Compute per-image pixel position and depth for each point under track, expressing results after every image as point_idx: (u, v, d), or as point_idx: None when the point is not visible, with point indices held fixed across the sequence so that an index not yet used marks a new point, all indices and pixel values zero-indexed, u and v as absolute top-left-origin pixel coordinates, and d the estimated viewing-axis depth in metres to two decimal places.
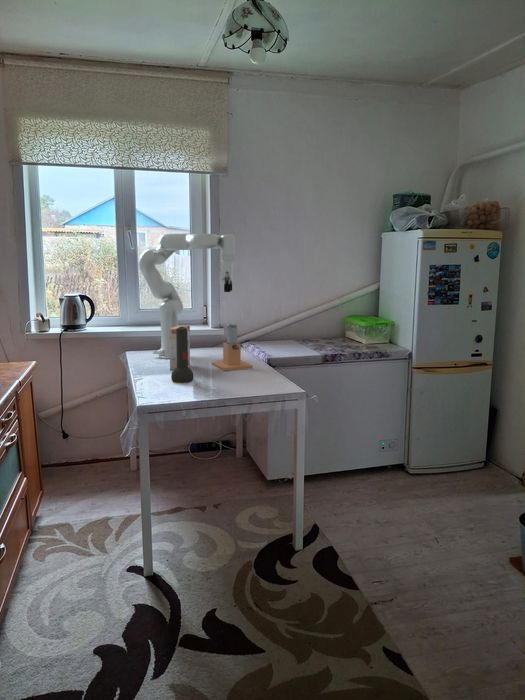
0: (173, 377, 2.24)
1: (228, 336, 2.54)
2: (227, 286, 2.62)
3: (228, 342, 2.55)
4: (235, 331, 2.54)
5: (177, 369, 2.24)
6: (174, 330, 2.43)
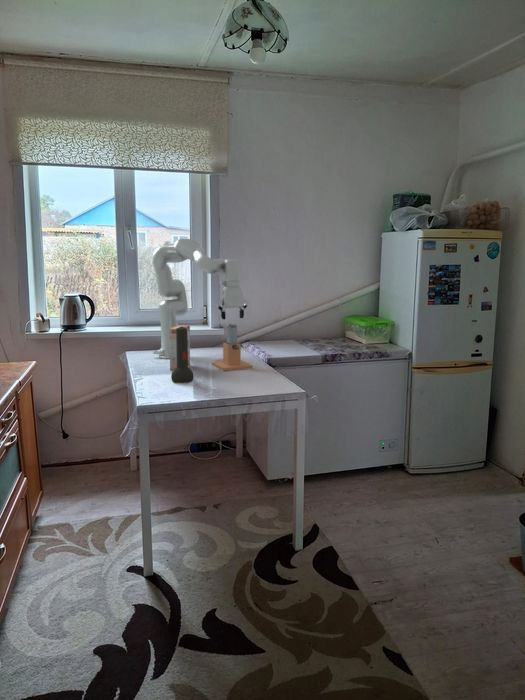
0: (173, 377, 2.24)
1: (228, 336, 2.54)
2: None
3: (228, 342, 2.55)
4: (235, 331, 2.54)
5: (177, 369, 2.24)
6: (174, 330, 2.43)
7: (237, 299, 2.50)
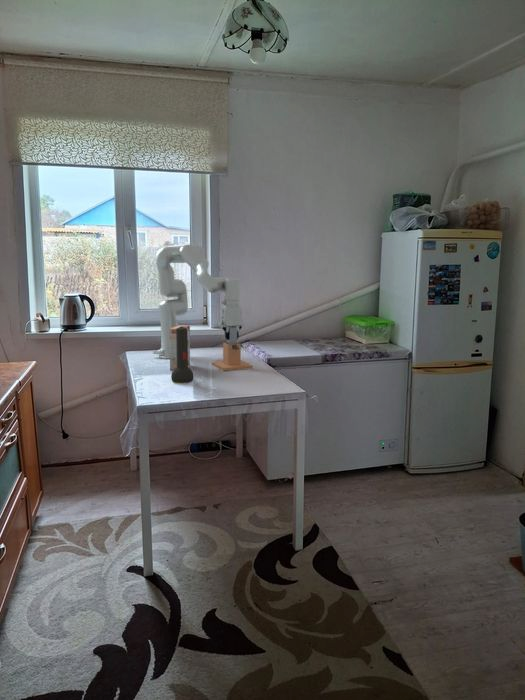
0: (173, 377, 2.24)
1: None
2: None
3: (228, 342, 2.55)
4: (235, 331, 2.54)
5: (177, 369, 2.24)
6: (174, 330, 2.43)
7: (236, 318, 2.52)
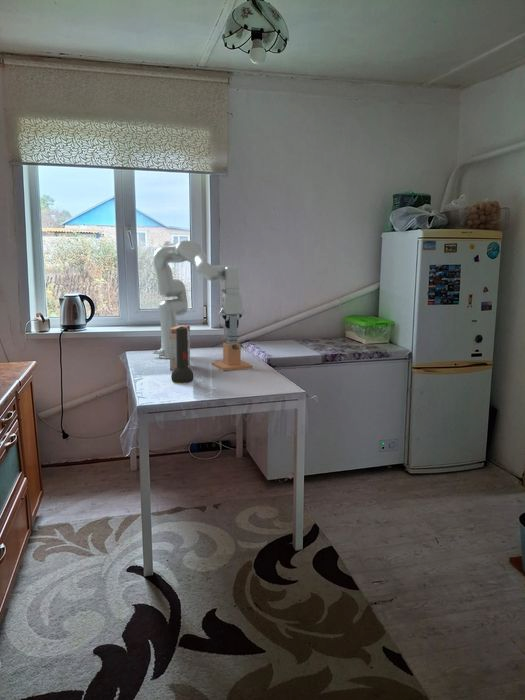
0: (173, 377, 2.24)
1: None
2: None
3: (228, 330, 2.54)
4: (235, 319, 2.53)
5: (177, 369, 2.24)
6: (174, 330, 2.43)
7: (237, 306, 2.51)
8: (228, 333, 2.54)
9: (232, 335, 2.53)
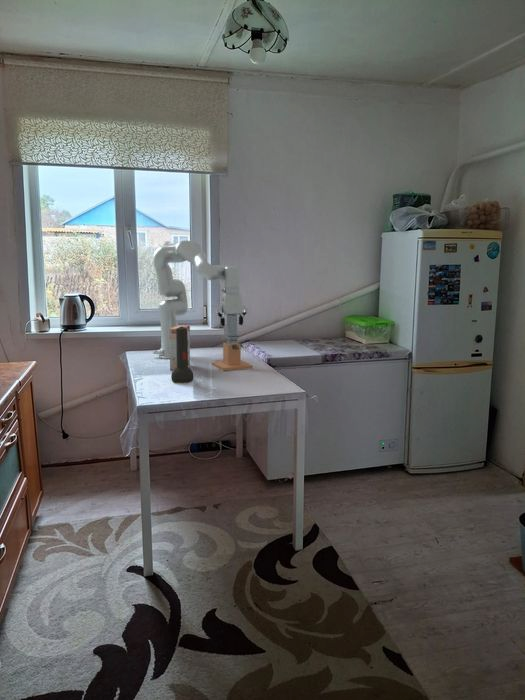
0: (173, 377, 2.24)
1: (228, 324, 2.53)
2: None
3: (228, 330, 2.54)
4: (235, 319, 2.53)
5: (177, 369, 2.24)
6: (174, 330, 2.43)
7: (237, 306, 2.51)
8: (228, 333, 2.54)
9: (232, 335, 2.53)
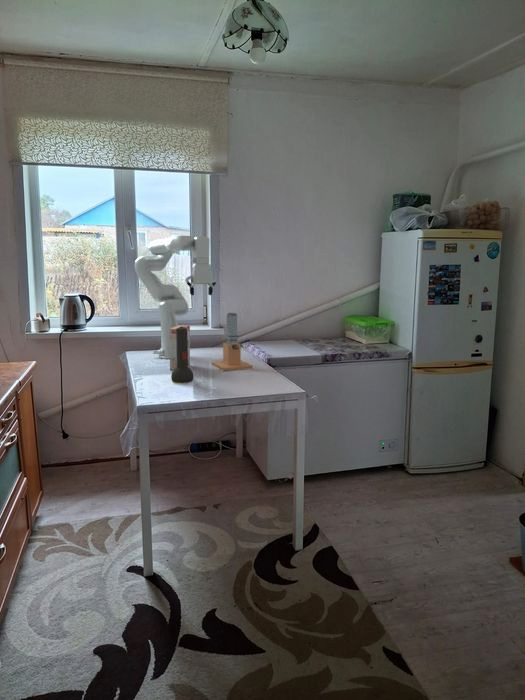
0: (173, 377, 2.24)
1: (228, 324, 2.53)
2: None
3: (228, 330, 2.54)
4: (235, 319, 2.53)
5: (177, 369, 2.24)
6: (174, 330, 2.43)
7: (206, 276, 2.56)
8: (228, 333, 2.54)
9: (232, 335, 2.53)
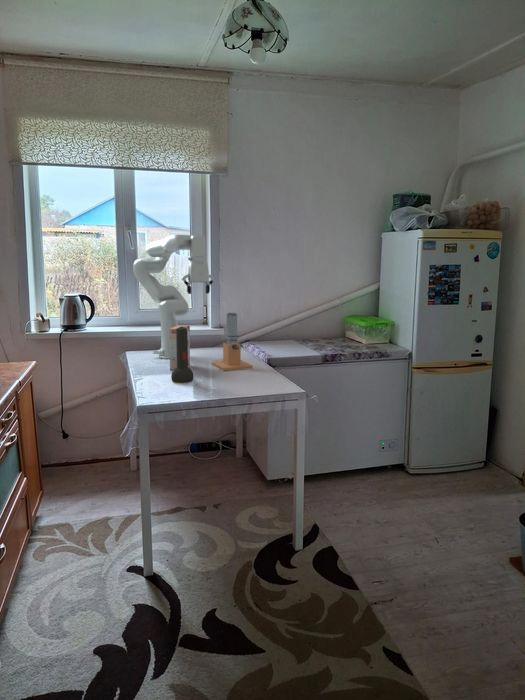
0: (173, 377, 2.24)
1: (228, 324, 2.53)
2: None
3: (228, 330, 2.54)
4: (235, 319, 2.53)
5: (177, 369, 2.24)
6: (174, 330, 2.43)
7: (203, 274, 2.57)
8: (228, 333, 2.54)
9: (232, 335, 2.53)
